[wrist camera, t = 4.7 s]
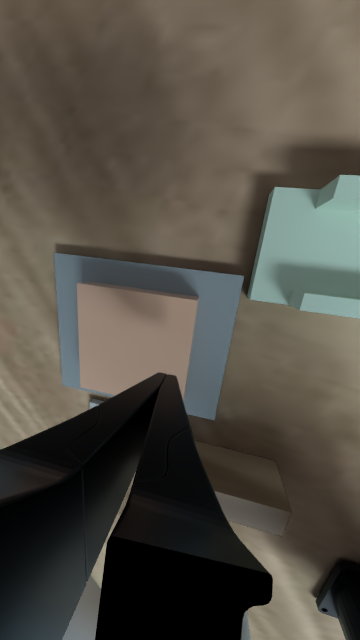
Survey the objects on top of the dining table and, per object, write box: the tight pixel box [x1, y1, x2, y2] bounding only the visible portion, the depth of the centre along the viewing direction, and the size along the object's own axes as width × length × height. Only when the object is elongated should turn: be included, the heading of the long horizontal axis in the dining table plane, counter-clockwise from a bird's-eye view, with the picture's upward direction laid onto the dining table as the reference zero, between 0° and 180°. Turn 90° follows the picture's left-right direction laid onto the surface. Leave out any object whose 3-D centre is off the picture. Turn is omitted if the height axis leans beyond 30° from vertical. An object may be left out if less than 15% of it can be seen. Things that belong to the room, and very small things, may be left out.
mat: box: [54, 253, 244, 420], centre depth 13 cm, size 10×12×1 cm
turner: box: [90, 399, 292, 537], centre depth 14 cm, size 6×15×3 cm, turn 83°
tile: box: [77, 282, 199, 402], centre depth 12 cm, size 7×2×7 cm
